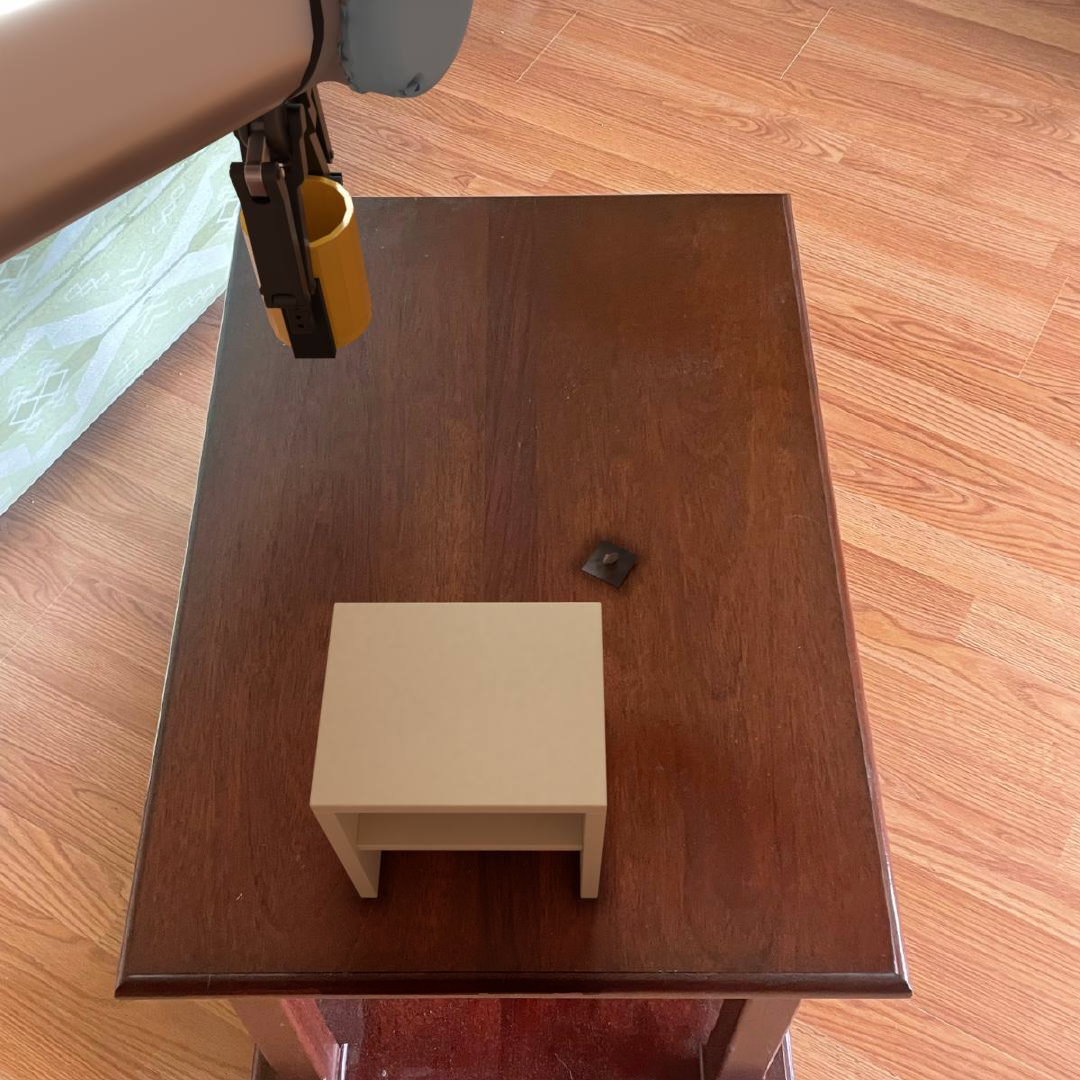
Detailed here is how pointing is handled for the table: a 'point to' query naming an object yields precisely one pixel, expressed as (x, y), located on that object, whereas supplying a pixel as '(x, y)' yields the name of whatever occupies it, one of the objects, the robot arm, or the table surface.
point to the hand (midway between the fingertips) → (322, 311)
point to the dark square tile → (610, 563)
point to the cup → (331, 261)
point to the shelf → (462, 732)
